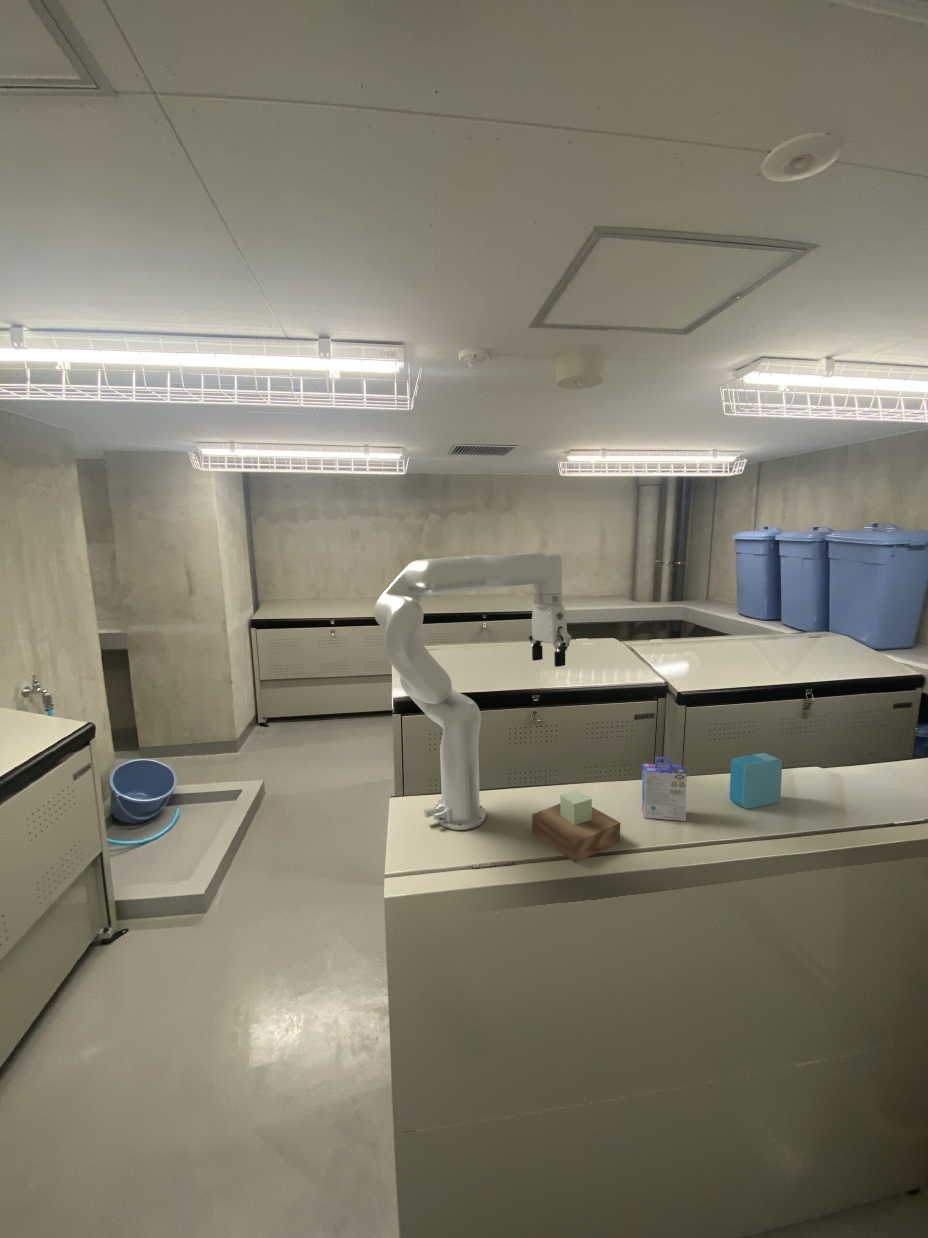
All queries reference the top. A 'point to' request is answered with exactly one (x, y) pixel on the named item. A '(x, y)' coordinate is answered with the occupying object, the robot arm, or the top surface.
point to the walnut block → (576, 832)
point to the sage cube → (576, 807)
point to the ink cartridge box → (664, 790)
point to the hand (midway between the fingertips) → (548, 662)
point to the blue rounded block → (755, 780)
